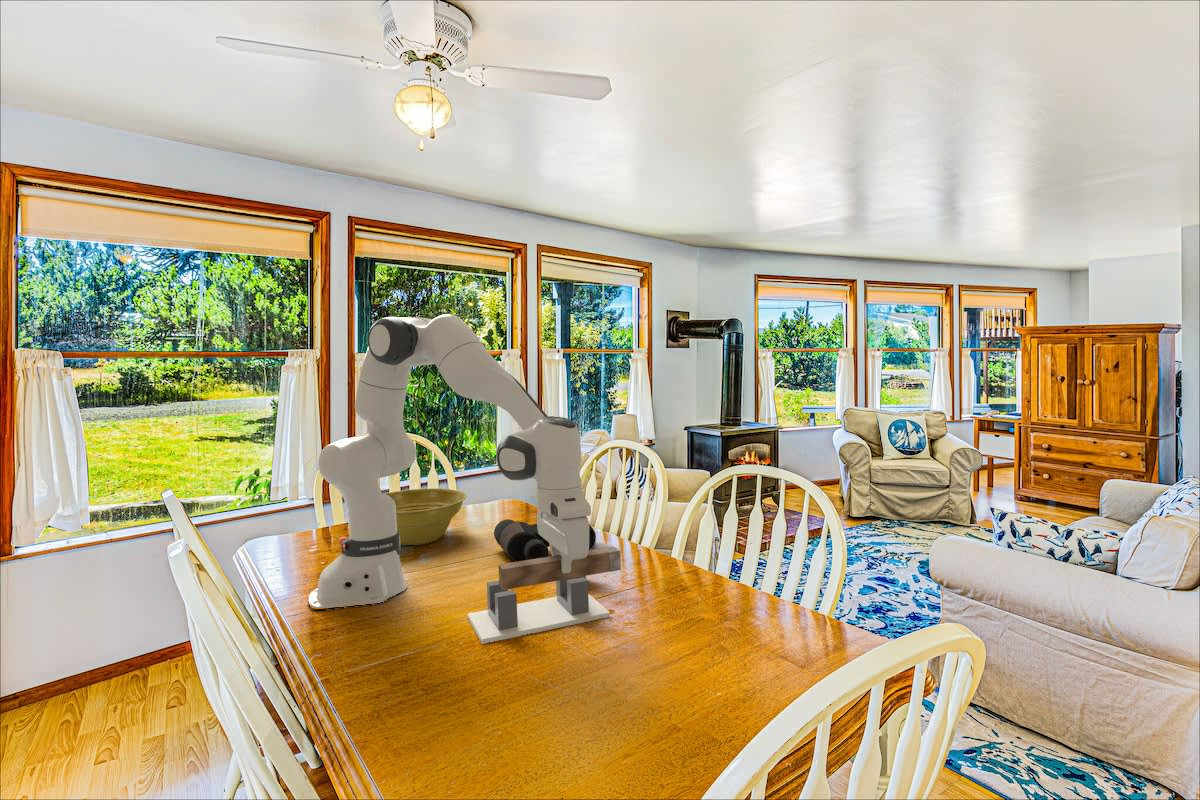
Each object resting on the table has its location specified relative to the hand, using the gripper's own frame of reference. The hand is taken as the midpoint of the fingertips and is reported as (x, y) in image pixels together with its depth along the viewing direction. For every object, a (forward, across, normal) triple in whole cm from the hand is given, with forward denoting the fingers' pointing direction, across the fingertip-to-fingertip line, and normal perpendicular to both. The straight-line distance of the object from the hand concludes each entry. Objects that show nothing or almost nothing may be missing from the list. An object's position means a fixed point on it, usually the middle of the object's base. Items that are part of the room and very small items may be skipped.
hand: (561, 568), depth 121 cm
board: (+15, -13, -1) cm, 20 cm away
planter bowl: (+16, -89, -17) cm, 92 cm away
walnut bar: (+2, 0, 0) cm, 2 cm away
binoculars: (+15, -54, +16) cm, 58 cm away
